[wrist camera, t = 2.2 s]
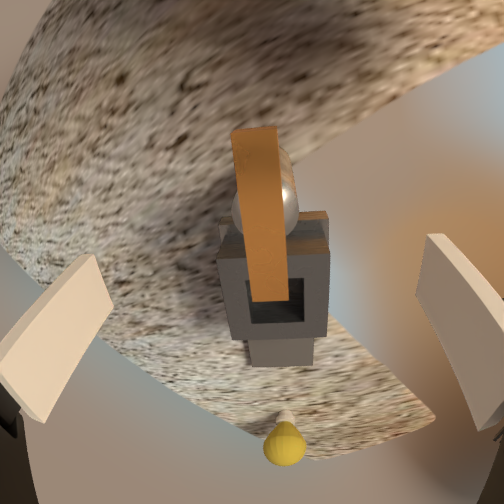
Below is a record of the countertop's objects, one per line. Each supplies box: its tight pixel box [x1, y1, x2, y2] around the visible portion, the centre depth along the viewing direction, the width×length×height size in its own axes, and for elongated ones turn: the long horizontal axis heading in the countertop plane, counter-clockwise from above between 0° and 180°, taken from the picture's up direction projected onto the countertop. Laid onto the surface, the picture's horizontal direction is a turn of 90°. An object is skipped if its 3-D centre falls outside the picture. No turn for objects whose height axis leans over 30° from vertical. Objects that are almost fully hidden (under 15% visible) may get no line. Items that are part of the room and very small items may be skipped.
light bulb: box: [263, 410, 306, 466], centre depth 41 cm, size 7×7×10 cm
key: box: [231, 126, 299, 302], centre depth 20 cm, size 9×4×14 cm, turn 6°
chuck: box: [216, 211, 330, 340], centre depth 28 cm, size 11×10×6 cm
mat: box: [248, 338, 314, 367], centre depth 36 cm, size 10×8×1 cm
